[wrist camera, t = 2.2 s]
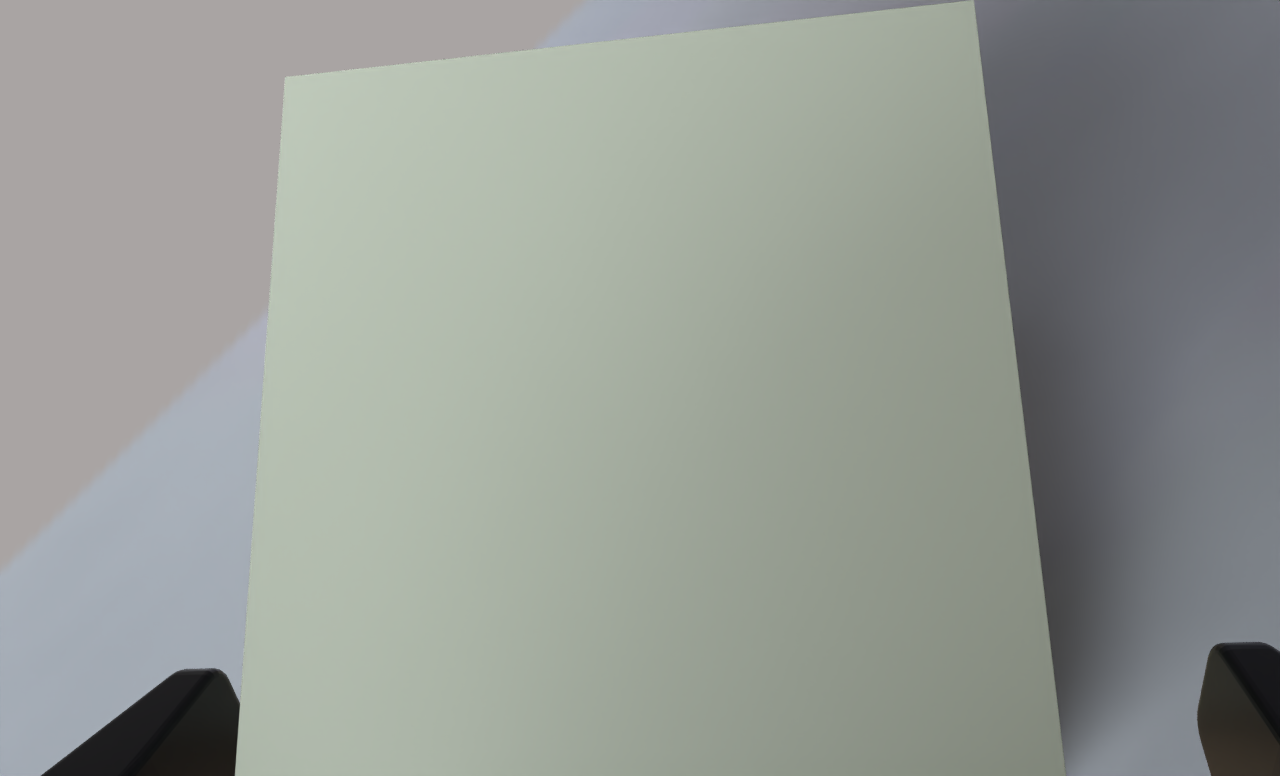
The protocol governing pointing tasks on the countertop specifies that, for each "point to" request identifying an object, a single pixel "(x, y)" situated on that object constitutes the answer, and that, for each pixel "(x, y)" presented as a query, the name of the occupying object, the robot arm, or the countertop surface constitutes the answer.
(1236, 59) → the countertop surface
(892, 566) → the square plug
